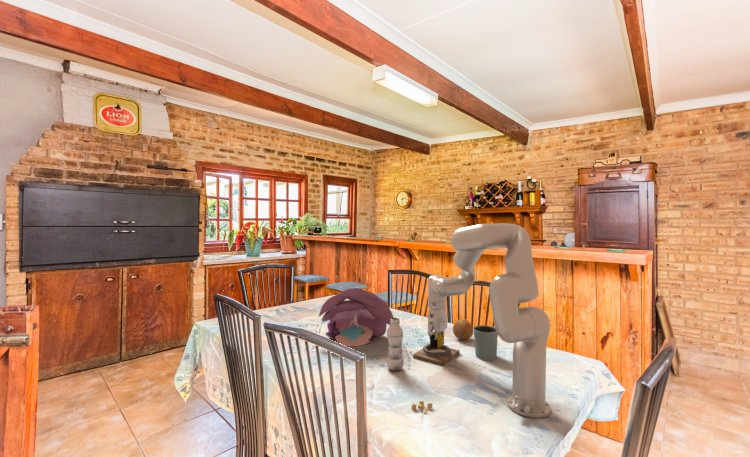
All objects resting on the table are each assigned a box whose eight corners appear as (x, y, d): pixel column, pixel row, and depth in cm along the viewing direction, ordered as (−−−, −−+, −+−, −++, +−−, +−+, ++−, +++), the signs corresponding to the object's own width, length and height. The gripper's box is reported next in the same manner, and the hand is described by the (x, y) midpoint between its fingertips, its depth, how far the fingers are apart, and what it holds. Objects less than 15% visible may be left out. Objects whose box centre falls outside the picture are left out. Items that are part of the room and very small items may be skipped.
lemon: (434, 345, 155) (434, 327, 155) (445, 348, 151) (445, 329, 151) (428, 349, 151) (428, 330, 150) (439, 352, 147) (439, 333, 147)
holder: (443, 366, 141) (443, 358, 140) (413, 357, 149) (413, 350, 149) (459, 353, 153) (459, 346, 153) (430, 346, 162) (431, 339, 162)
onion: (471, 336, 176) (471, 316, 175) (474, 343, 166) (475, 322, 166) (451, 335, 177) (451, 316, 176) (454, 342, 167) (454, 322, 167)
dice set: (410, 411, 109) (410, 405, 109) (419, 404, 113) (419, 398, 113) (424, 417, 106) (424, 410, 106) (433, 410, 110) (433, 404, 110)
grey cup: (499, 362, 145) (499, 333, 144) (474, 360, 147) (474, 331, 146) (496, 352, 155) (496, 325, 154) (472, 351, 157) (472, 324, 156)
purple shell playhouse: (325, 359, 159) (320, 303, 152) (317, 333, 181) (312, 283, 174) (397, 344, 169) (395, 290, 162) (381, 321, 191) (379, 272, 184)
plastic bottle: (389, 373, 134) (389, 322, 133) (384, 366, 140) (384, 317, 140) (405, 371, 135) (405, 320, 135) (399, 364, 142) (399, 315, 141)
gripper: (435, 309, 141) (435, 354, 142) (453, 301, 155) (453, 342, 155) (419, 307, 146) (419, 350, 146) (438, 299, 160) (438, 338, 160)
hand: (437, 345), depth 151 cm, fingers closed on lemon, 5 cm apart
